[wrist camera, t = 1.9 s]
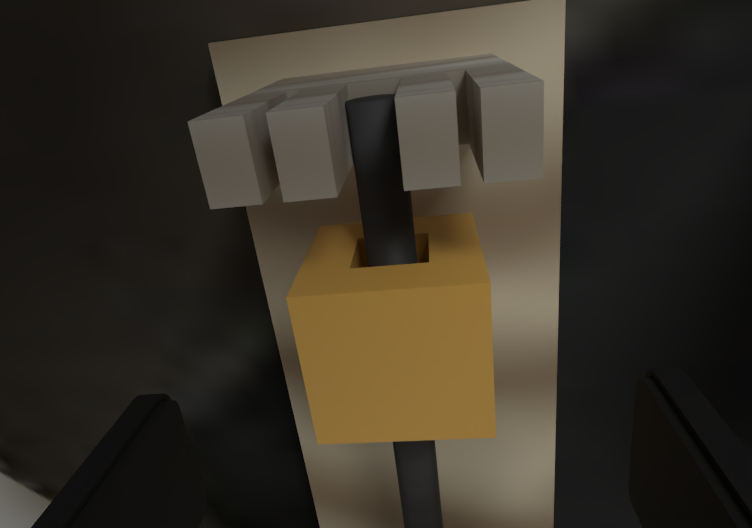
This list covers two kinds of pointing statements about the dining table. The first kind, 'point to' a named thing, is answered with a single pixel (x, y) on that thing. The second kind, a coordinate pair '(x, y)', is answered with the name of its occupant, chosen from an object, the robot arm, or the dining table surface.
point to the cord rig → (410, 224)
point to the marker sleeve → (396, 336)
